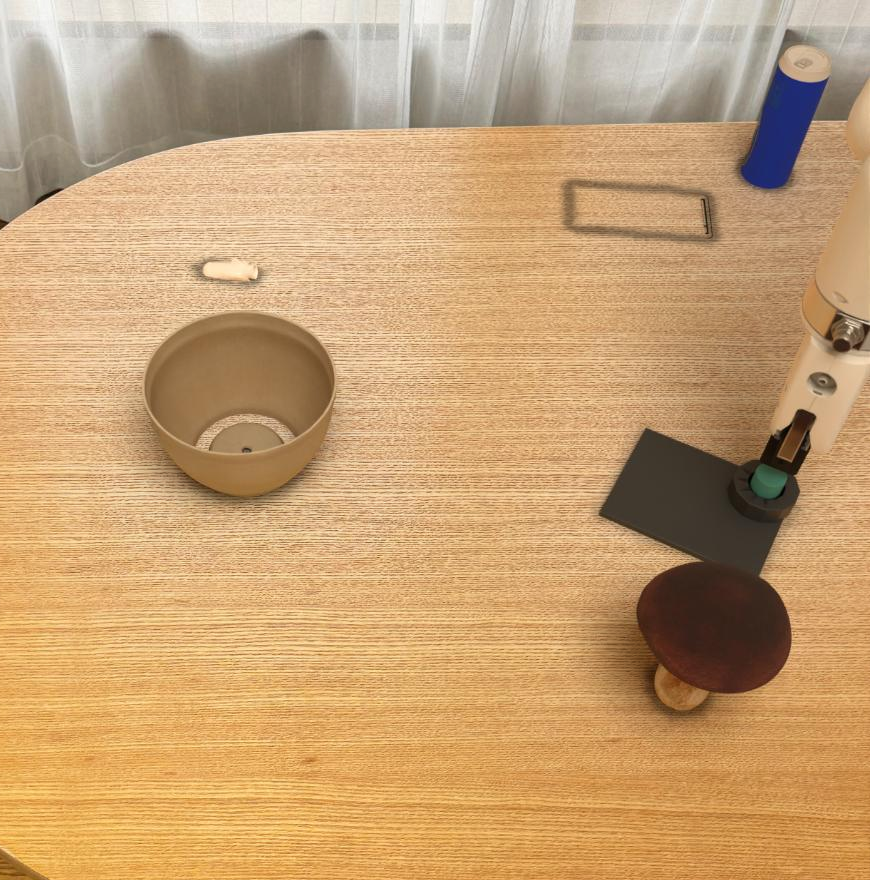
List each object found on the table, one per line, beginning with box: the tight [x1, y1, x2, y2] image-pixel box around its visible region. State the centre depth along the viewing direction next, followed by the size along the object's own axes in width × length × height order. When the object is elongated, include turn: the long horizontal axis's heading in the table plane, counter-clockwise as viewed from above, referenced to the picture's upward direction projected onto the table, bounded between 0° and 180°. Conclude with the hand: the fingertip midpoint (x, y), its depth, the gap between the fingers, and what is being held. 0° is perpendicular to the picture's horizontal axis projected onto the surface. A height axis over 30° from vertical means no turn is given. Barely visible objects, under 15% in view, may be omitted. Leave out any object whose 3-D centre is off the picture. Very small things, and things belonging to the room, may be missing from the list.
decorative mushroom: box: [635, 560, 793, 711], centre depth 86 cm, size 11×11×15 cm
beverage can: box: [740, 44, 833, 190], centre depth 123 cm, size 5×5×15 cm
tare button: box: [750, 464, 787, 499], centre depth 100 cm, size 3×3×2 cm
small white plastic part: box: [202, 257, 259, 282], centre depth 118 cm, size 4×6×3 cm, turn 54°
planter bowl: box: [141, 309, 338, 498], centre depth 101 cm, size 16×16×11 cm
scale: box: [598, 427, 801, 577], centre depth 102 cm, size 14×11×4 cm
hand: (779, 462), depth 99 cm, fingers closed
